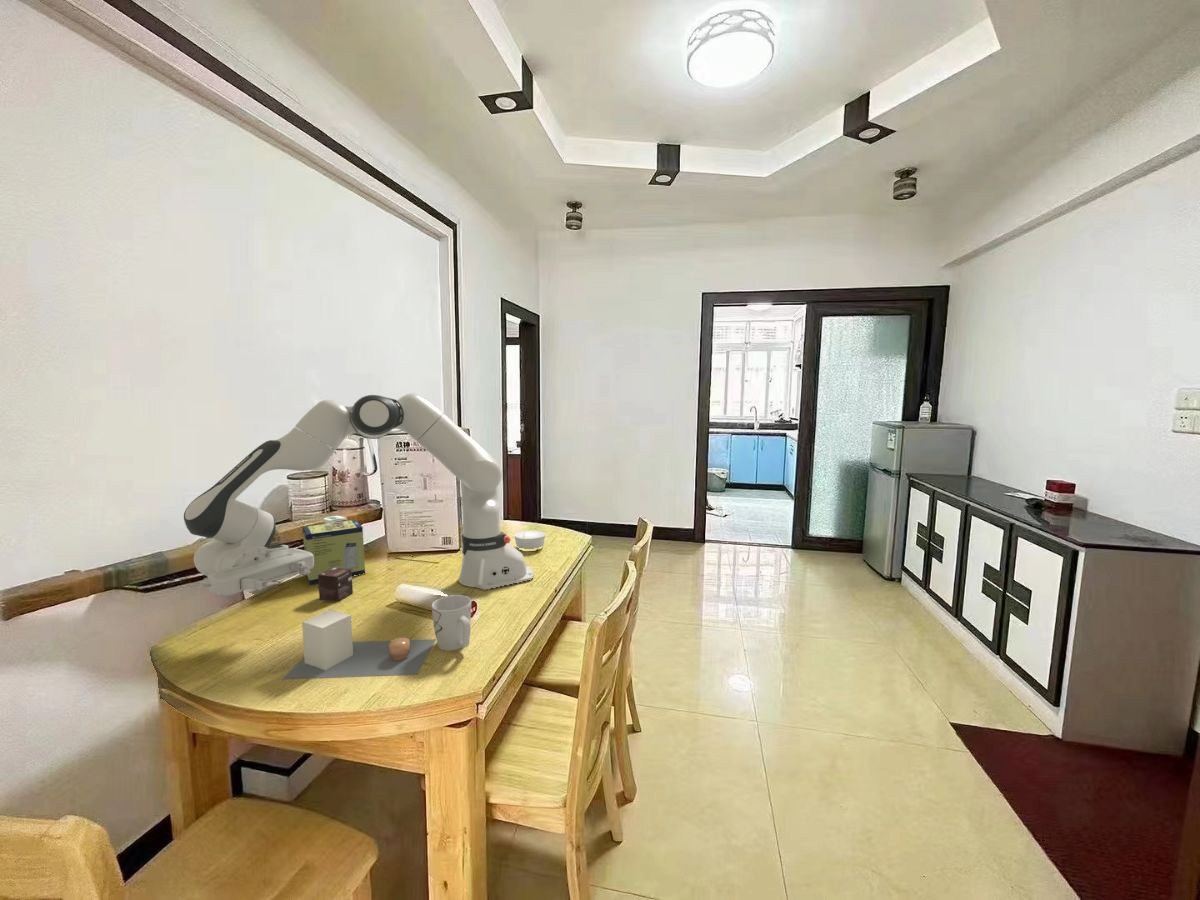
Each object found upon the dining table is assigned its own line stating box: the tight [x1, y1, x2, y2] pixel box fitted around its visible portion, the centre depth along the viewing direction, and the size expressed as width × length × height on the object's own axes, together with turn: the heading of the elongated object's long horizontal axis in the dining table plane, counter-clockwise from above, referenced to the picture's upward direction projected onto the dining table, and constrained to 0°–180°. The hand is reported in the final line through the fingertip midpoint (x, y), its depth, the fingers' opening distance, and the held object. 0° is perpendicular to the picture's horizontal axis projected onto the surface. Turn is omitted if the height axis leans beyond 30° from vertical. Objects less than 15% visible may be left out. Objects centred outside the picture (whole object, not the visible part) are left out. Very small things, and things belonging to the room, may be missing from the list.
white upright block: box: [301, 609, 353, 670], centre depth 101 cm, size 6×6×9 cm
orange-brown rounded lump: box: [389, 637, 410, 661], centre depth 102 cm, size 4×4×3 cm
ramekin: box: [514, 530, 546, 549], centre depth 177 cm, size 11×11×5 cm
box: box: [318, 568, 354, 603], centre depth 133 cm, size 6×6×7 cm
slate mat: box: [281, 638, 437, 681], centre depth 102 cm, size 26×14×1 cm, turn 94°
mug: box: [431, 594, 472, 652], centre depth 107 cm, size 11×8×10 cm
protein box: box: [302, 519, 366, 586], centre depth 150 cm, size 10×16×16 cm
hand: (286, 577), depth 105 cm, fingers open, 8 cm apart
